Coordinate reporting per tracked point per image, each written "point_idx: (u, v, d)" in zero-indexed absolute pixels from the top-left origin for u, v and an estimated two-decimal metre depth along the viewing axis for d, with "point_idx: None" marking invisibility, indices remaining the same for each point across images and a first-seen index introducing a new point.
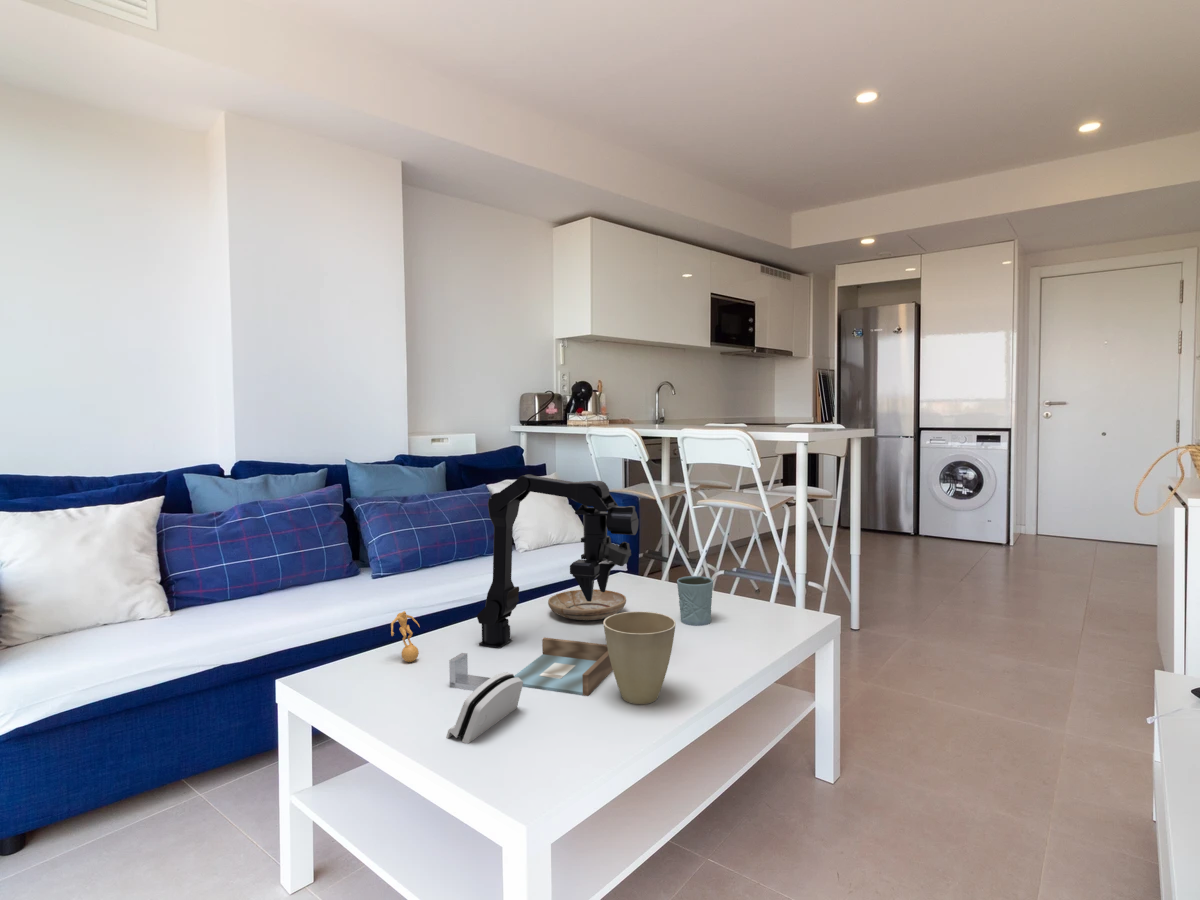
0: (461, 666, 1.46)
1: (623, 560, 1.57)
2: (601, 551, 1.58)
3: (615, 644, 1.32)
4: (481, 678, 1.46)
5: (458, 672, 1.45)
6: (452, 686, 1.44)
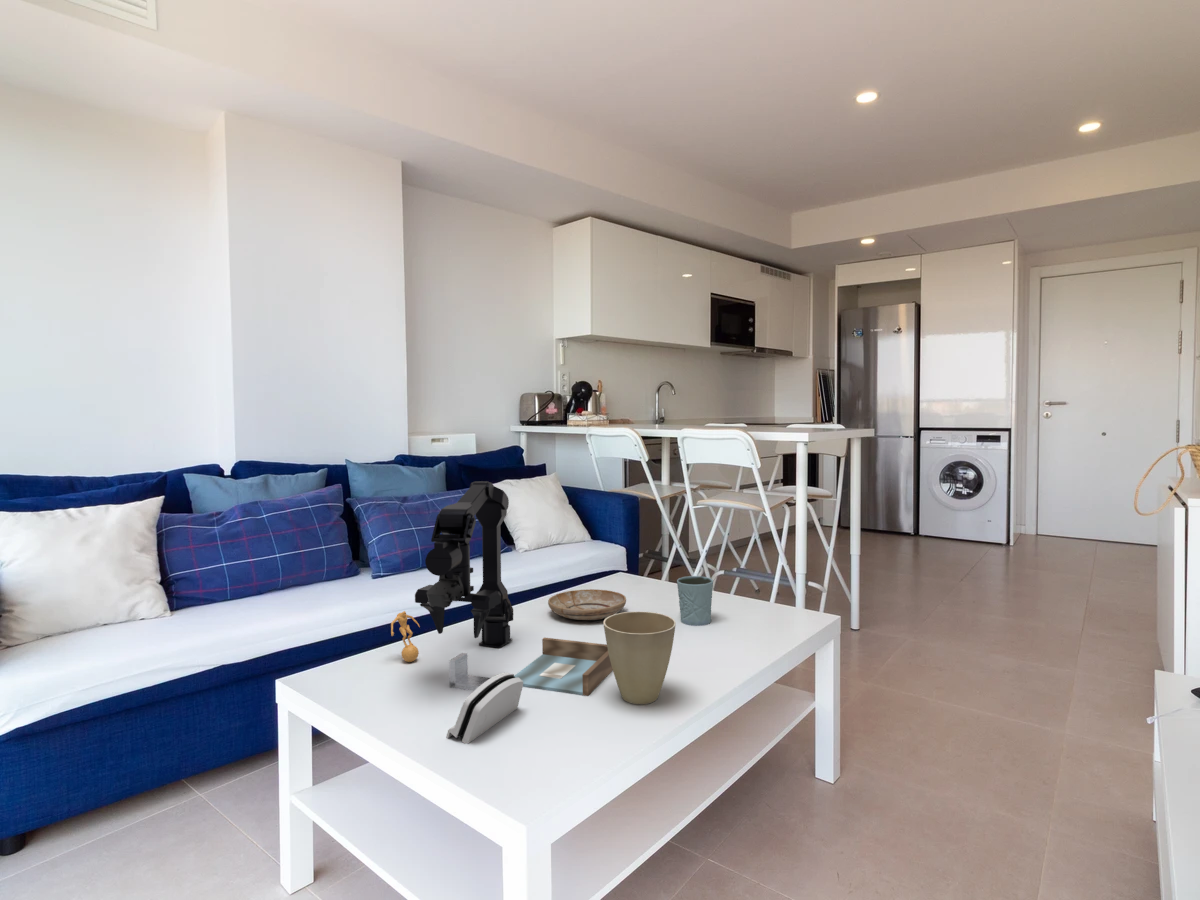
0: (461, 666, 1.46)
1: (428, 600, 1.39)
2: None
3: (615, 644, 1.32)
4: (481, 678, 1.46)
5: (458, 672, 1.45)
6: (452, 686, 1.44)
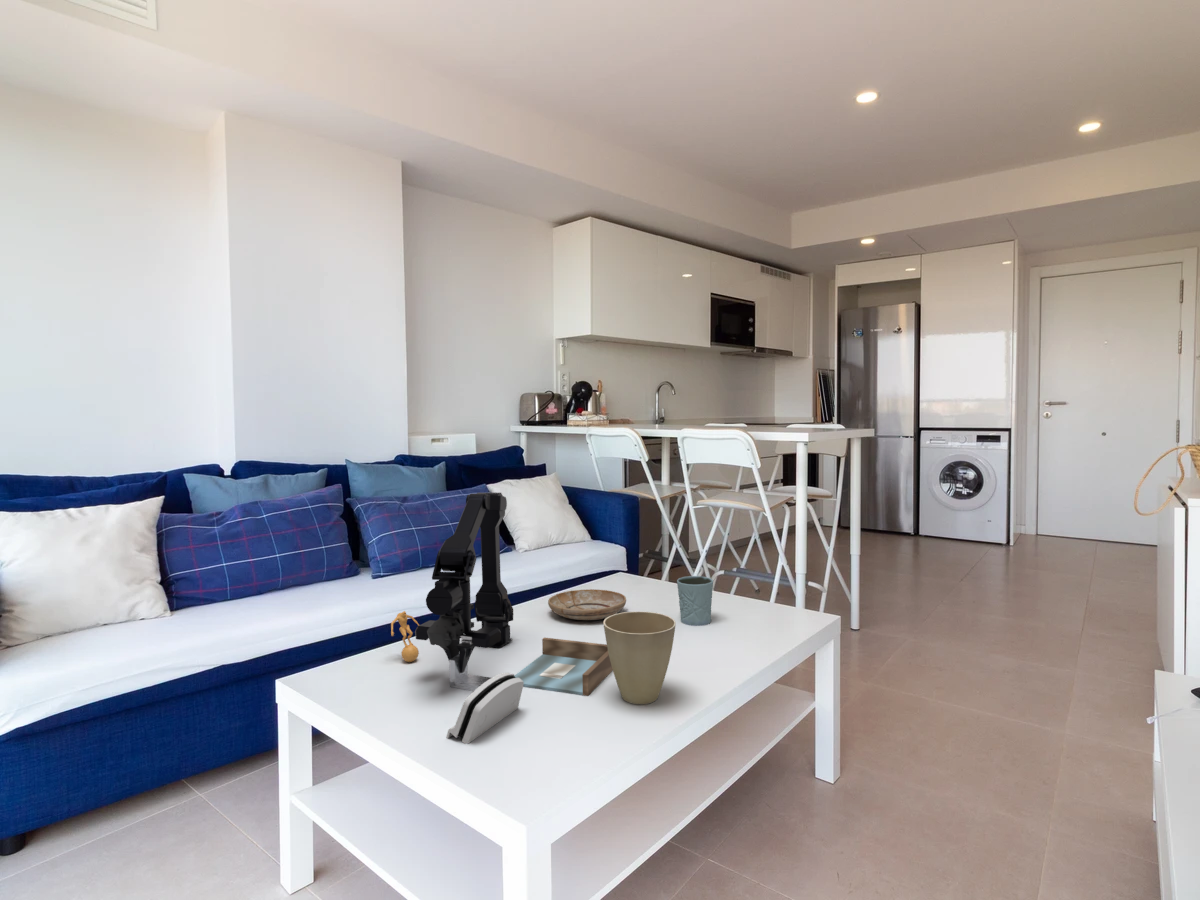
0: None
1: (429, 638, 1.39)
2: None
3: (615, 644, 1.32)
4: (481, 677, 1.46)
5: (458, 672, 1.45)
6: (452, 686, 1.44)
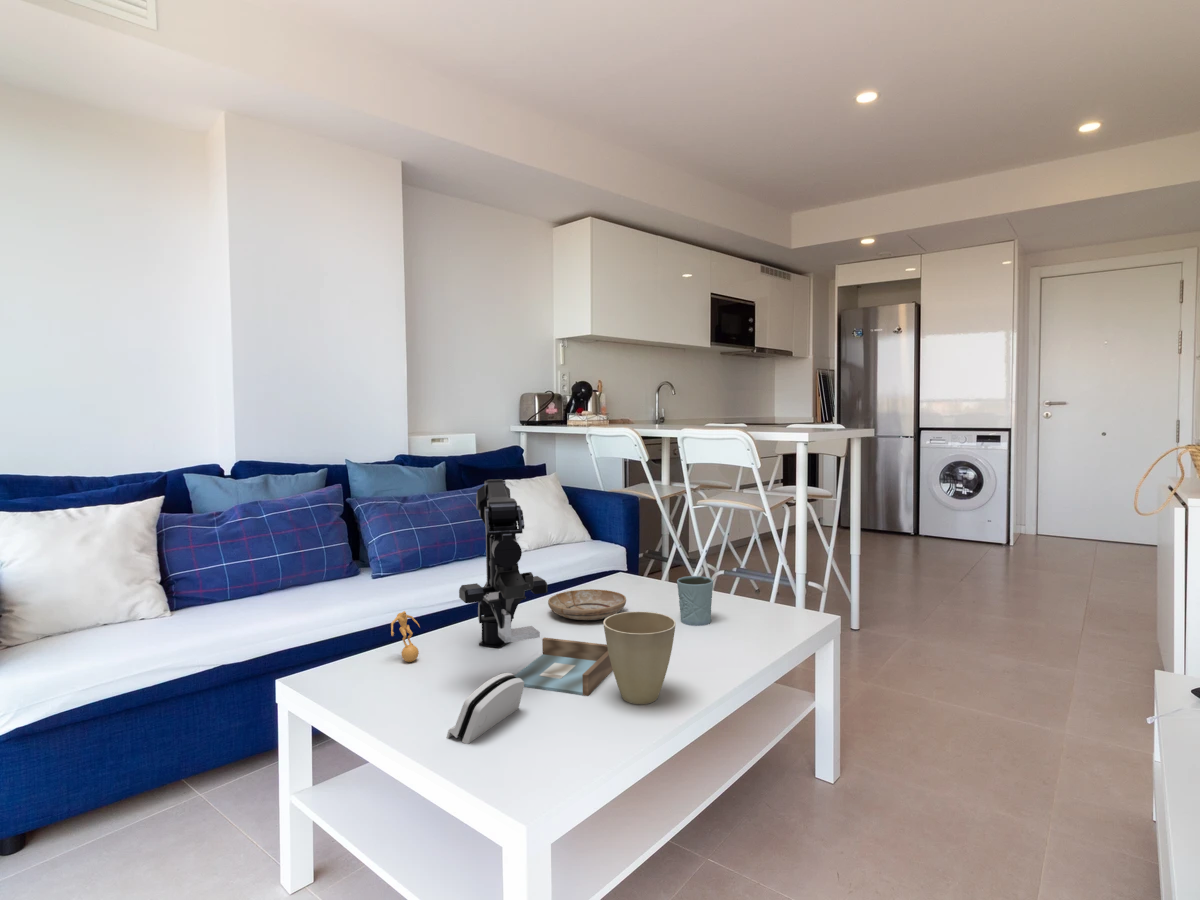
0: None
1: (506, 593, 1.38)
2: (494, 578, 1.42)
3: (615, 644, 1.32)
4: (521, 628, 1.50)
5: None
6: (508, 640, 1.44)
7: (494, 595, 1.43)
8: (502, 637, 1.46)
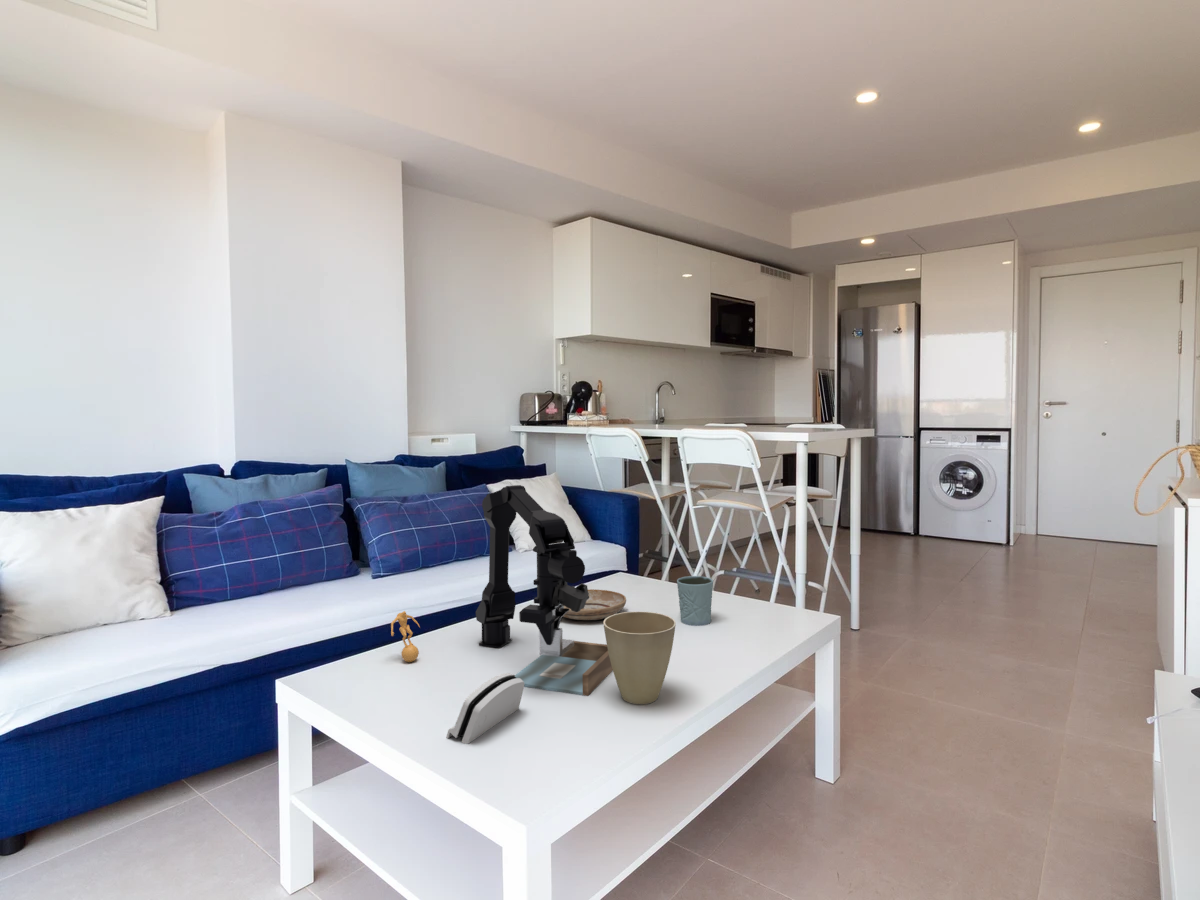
0: None
1: (579, 605, 1.43)
2: (555, 595, 1.44)
3: (615, 644, 1.32)
4: None
5: None
6: (561, 654, 1.47)
7: (553, 612, 1.44)
8: (552, 653, 1.47)
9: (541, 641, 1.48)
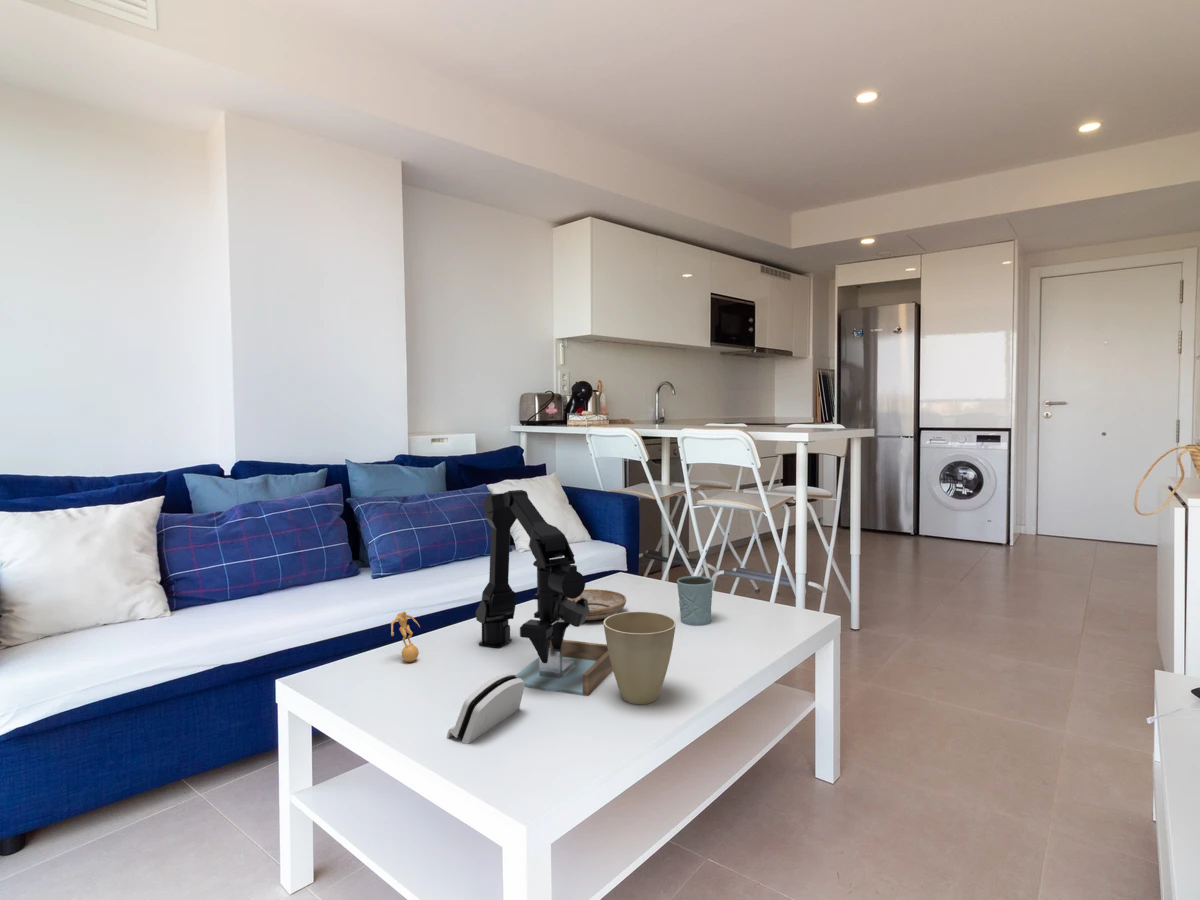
0: None
1: (579, 620, 1.43)
2: (555, 610, 1.44)
3: (615, 644, 1.32)
4: None
5: None
6: (561, 676, 1.47)
7: None
8: (552, 674, 1.47)
9: (541, 662, 1.48)
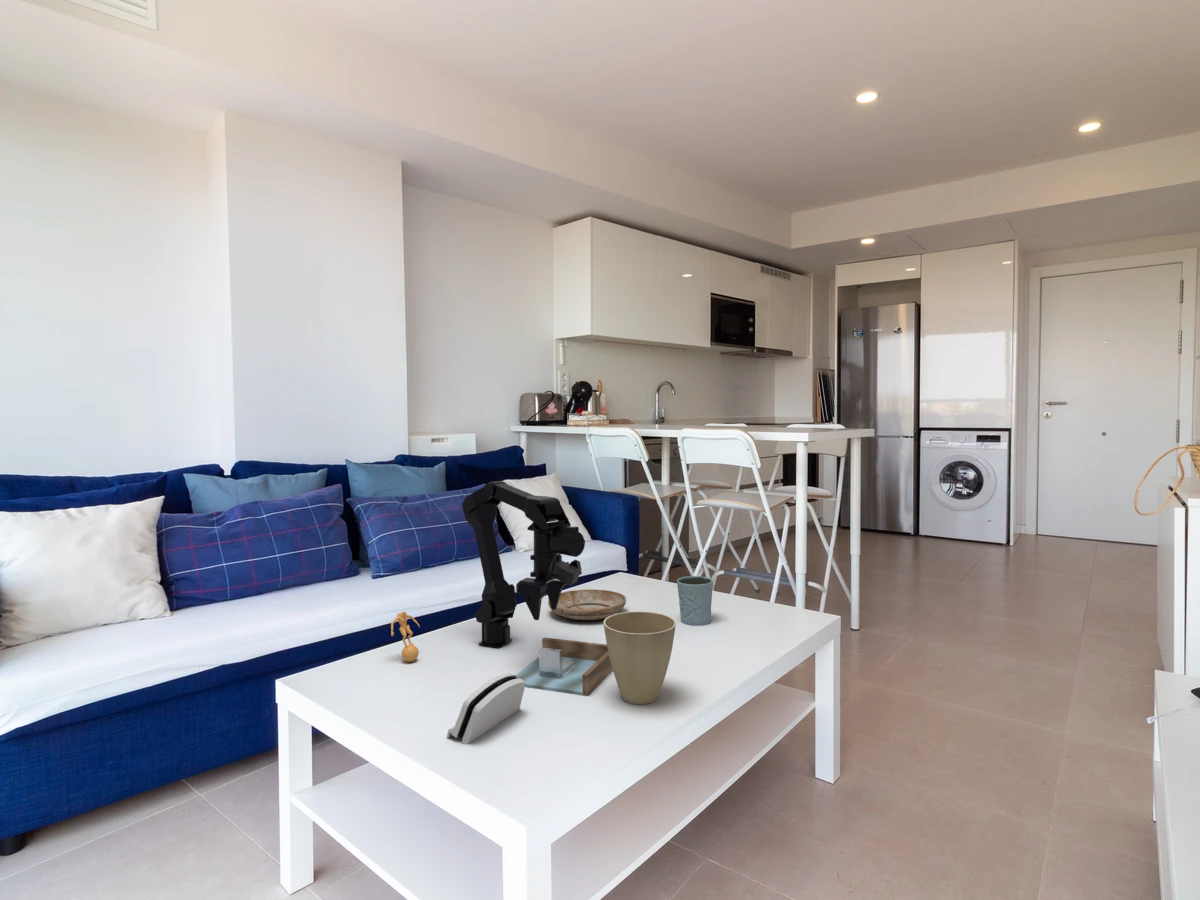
0: None
1: (571, 579, 1.54)
2: (550, 570, 1.55)
3: (615, 644, 1.32)
4: None
5: None
6: (561, 676, 1.47)
7: None
8: (552, 674, 1.47)
9: (541, 662, 1.48)
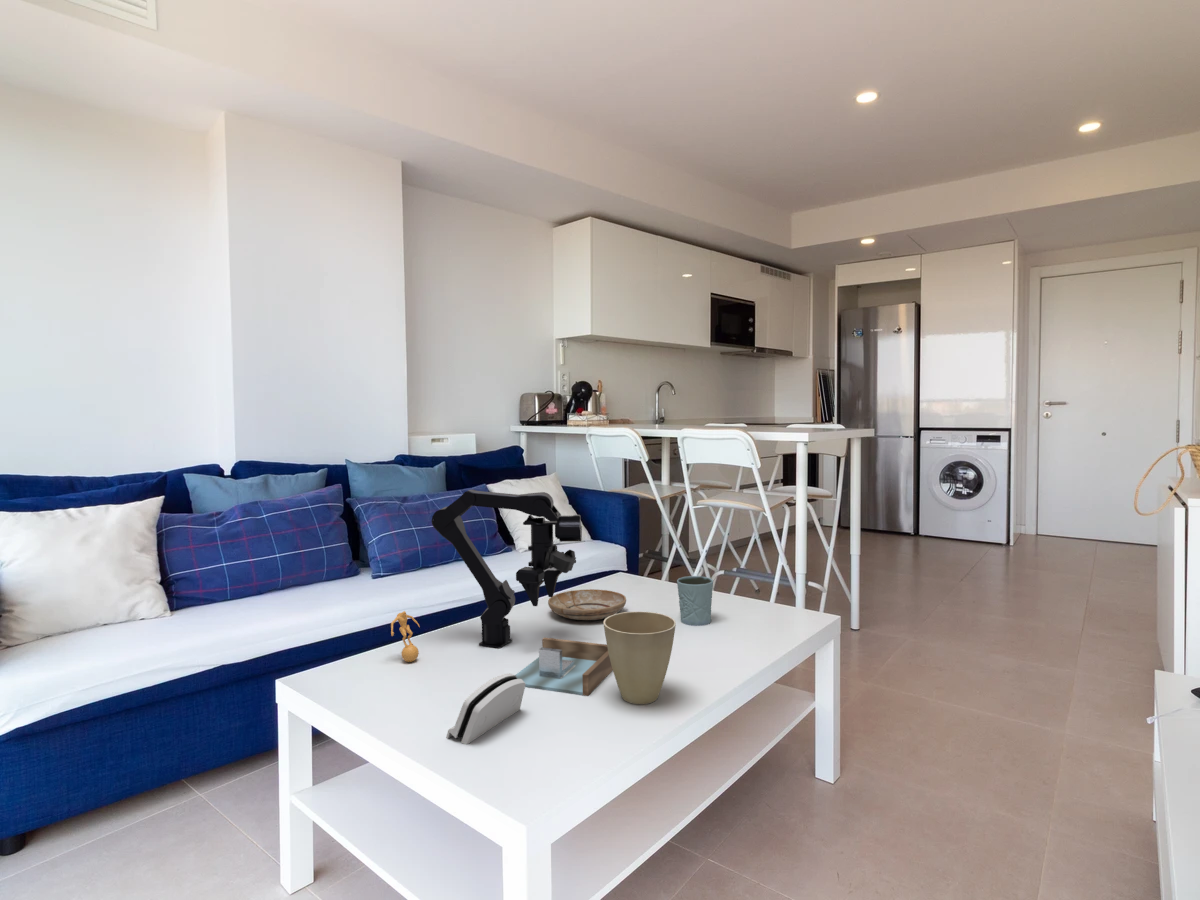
0: None
1: (567, 567, 1.66)
2: (546, 559, 1.67)
3: (615, 644, 1.32)
4: None
5: None
6: (561, 676, 1.47)
7: None
8: (552, 674, 1.47)
9: (541, 662, 1.48)
